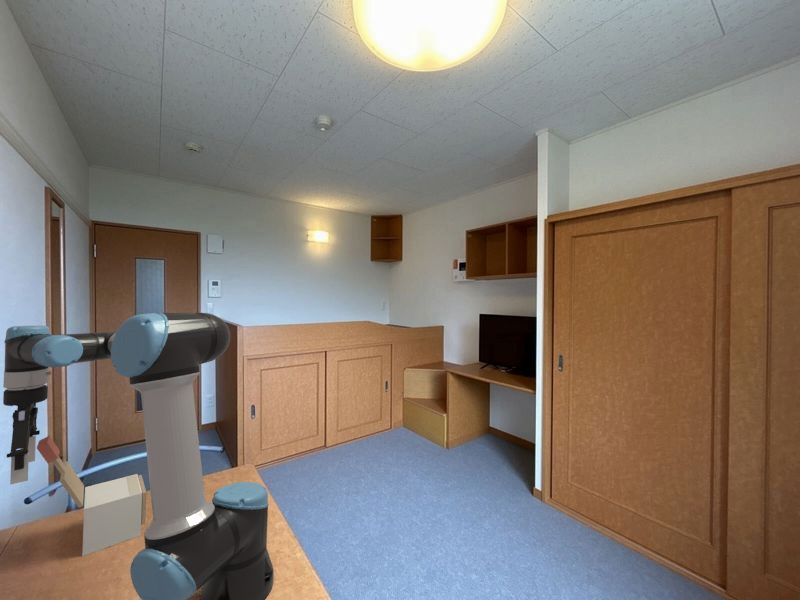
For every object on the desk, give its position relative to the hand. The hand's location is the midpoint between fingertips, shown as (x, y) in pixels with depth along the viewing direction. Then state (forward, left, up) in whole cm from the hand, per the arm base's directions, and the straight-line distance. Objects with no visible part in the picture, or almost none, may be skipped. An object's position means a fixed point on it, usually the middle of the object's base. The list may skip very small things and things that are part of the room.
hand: (23, 471), depth 85 cm
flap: (0, -8, -1) cm, 8 cm away
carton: (0, -17, -23) cm, 29 cm away
